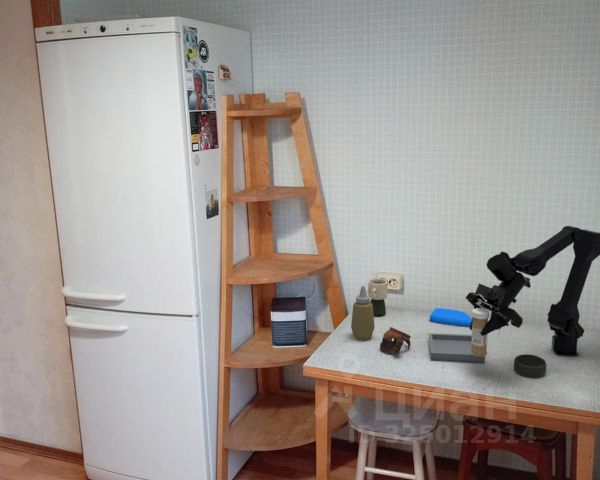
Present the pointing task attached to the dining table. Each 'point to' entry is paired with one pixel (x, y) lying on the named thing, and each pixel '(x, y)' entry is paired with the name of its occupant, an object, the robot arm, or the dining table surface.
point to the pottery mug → (397, 343)
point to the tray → (452, 348)
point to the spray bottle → (451, 317)
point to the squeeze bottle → (362, 316)
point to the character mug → (378, 295)
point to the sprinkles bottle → (477, 326)
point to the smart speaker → (530, 366)
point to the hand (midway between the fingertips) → (475, 332)
